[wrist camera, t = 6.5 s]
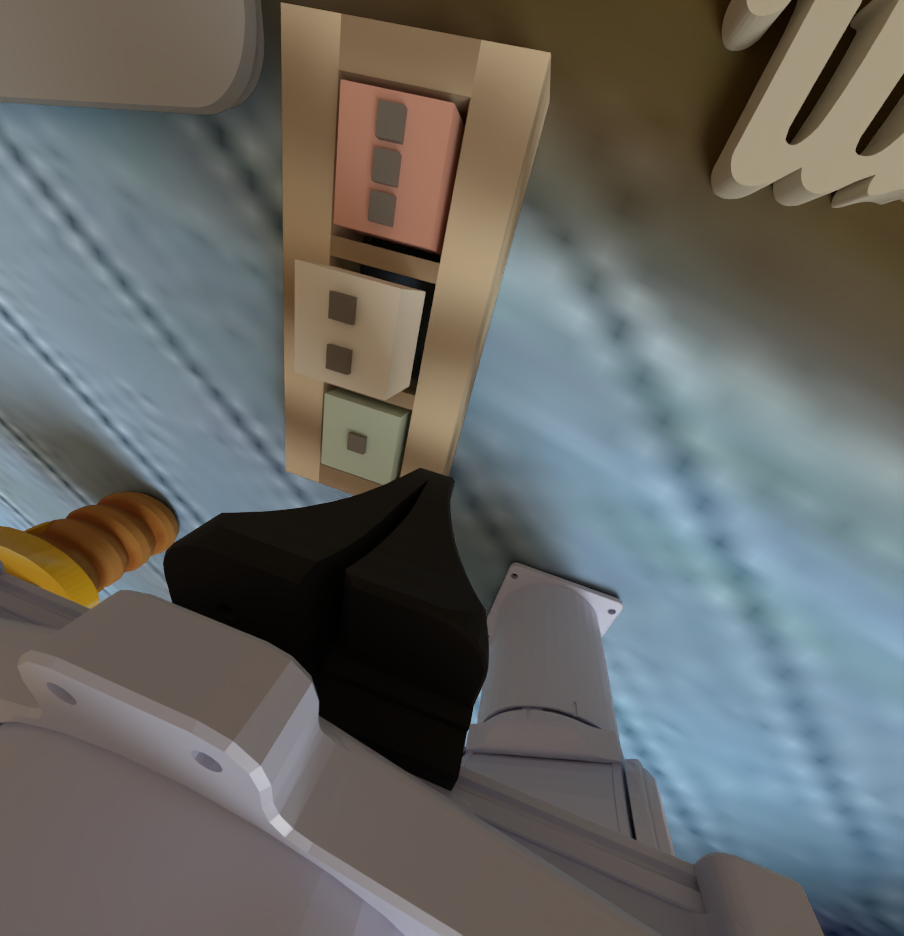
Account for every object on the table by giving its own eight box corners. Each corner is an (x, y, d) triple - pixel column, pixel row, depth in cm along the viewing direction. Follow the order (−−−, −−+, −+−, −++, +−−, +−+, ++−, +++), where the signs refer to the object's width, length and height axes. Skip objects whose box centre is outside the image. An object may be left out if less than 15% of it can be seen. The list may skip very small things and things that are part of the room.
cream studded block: (409, 386, 17) (382, 402, 14) (331, 362, 18) (289, 373, 15) (425, 291, 15) (397, 288, 12) (337, 267, 15) (289, 258, 13)
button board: (443, 497, 23) (430, 521, 20) (313, 452, 24) (285, 470, 22) (549, 101, 14) (551, 52, 11) (327, 56, 15) (280, 2, 12)
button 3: (447, 257, 16) (427, 247, 14) (366, 236, 17) (329, 222, 14) (470, 140, 14) (452, 98, 11) (376, 119, 15) (336, 73, 12)
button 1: (407, 465, 22) (386, 489, 19) (347, 445, 23) (318, 465, 20) (419, 403, 20) (398, 419, 17) (352, 382, 20) (321, 394, 18)
